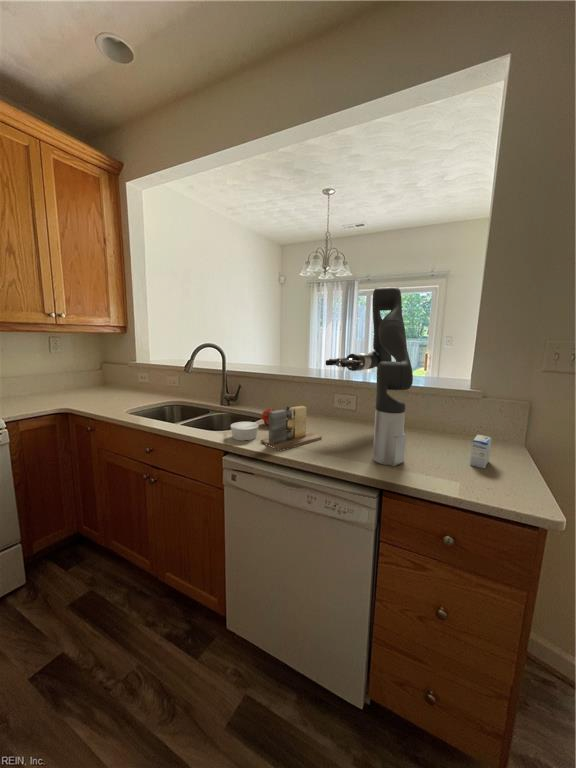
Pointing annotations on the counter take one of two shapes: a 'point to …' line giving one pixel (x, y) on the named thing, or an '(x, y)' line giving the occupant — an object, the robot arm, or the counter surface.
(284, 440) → the hinge base
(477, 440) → the medicine box
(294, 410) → the pale yellow flat block
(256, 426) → the ramekin
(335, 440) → the counter surface
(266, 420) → the dragon fruit
